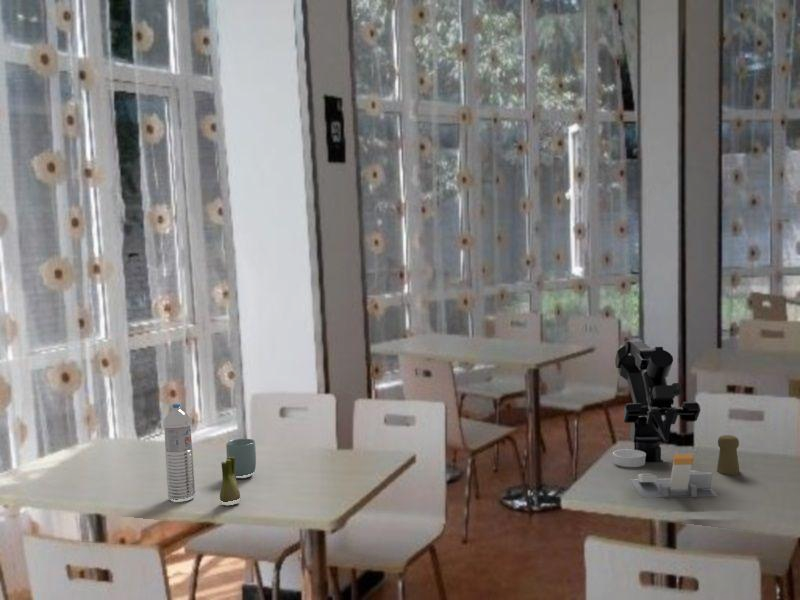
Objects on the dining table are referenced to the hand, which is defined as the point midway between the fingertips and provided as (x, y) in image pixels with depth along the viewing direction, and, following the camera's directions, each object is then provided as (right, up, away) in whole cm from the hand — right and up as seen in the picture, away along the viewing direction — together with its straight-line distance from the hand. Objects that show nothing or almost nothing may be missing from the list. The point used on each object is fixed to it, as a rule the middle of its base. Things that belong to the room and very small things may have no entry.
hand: (666, 440), depth 224 cm
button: (+6, -10, -2) cm, 12 cm away
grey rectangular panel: (+5, -10, -7) cm, 13 cm away
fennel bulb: (-111, -16, -1) cm, 112 cm away
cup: (-112, -14, +22) cm, 115 cm away
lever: (0, -10, -10) cm, 14 cm away
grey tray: (0, -12, -4) cm, 13 cm away
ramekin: (-5, -11, +18) cm, 22 cm away
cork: (+18, -11, +7) cm, 23 cm away
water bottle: (-124, -16, +4) cm, 125 cm away
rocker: (-5, -9, -2) cm, 11 cm away
